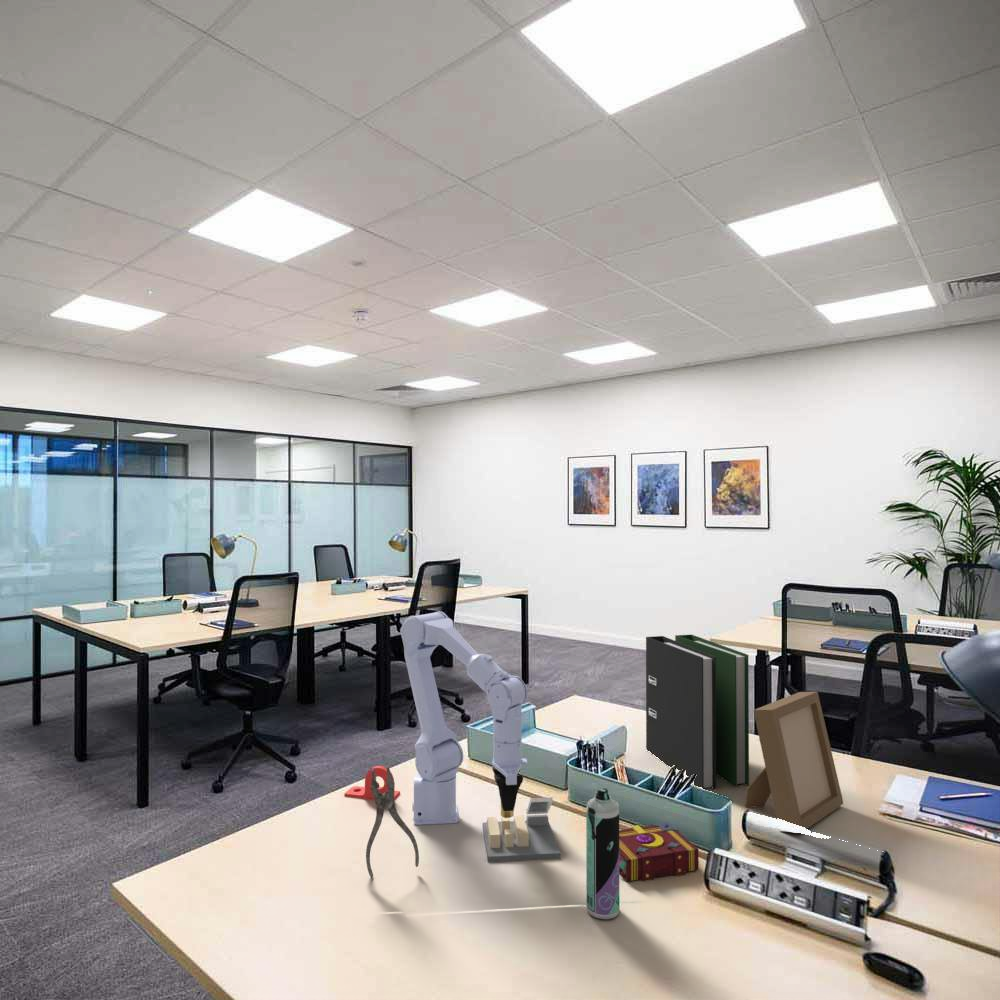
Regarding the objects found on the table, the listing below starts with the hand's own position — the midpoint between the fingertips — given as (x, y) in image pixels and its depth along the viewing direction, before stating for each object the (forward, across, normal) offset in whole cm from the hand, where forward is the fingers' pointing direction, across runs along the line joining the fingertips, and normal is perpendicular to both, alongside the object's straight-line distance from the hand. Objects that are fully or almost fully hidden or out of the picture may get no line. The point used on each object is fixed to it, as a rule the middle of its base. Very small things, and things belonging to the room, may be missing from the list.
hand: (507, 806), depth 135 cm
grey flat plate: (+4, +6, -7) cm, 10 cm away
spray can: (+8, -24, -14) cm, 29 cm away
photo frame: (+8, +8, -64) cm, 65 cm away
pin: (+2, 0, 0) cm, 2 cm away
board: (+7, 0, -2) cm, 8 cm away
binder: (+8, +34, -52) cm, 63 cm away
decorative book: (+8, -10, -26) cm, 28 cm away
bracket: (+8, +25, +29) cm, 39 cm away
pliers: (+8, -10, +23) cm, 26 cm away
